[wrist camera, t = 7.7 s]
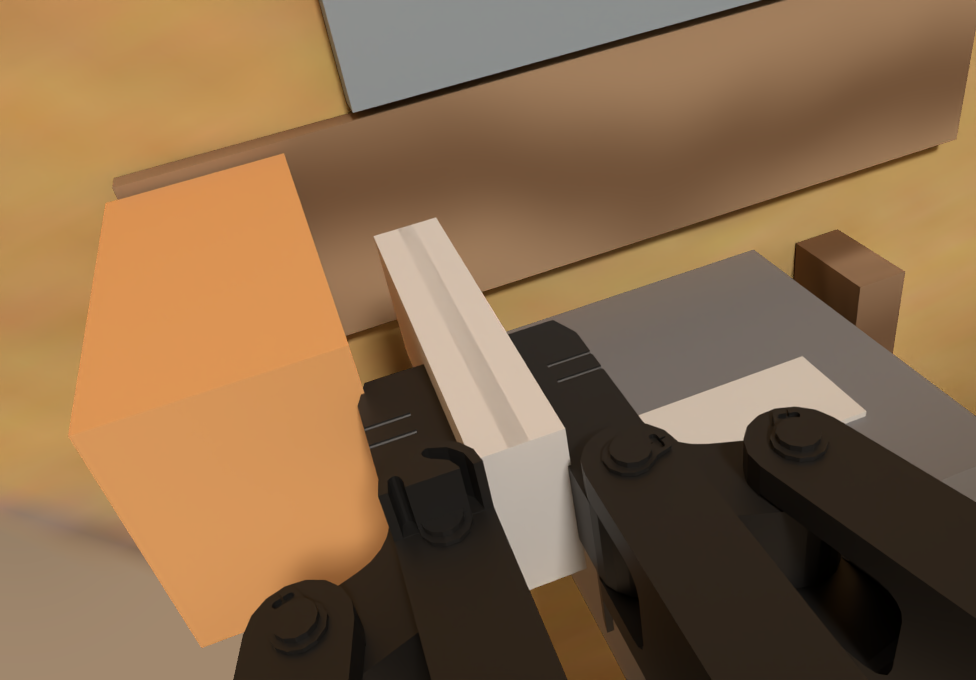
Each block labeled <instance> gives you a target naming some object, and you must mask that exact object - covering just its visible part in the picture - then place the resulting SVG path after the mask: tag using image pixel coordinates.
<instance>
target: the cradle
mask: <svg viewBox="0 0 976 680" xmlns="http://www.w3.org/2000/svg"><path fill="white" fill-rule="evenodd" d="M975 30H976V0H759V1H756V2H752V3H749V4H745V5H741V6H738V7H734V8H730V9H727V10H723V11H720V12H716V13H712V14H709V15H705V16H702V17H698V18H694V19H691V20H687V21H683V22H680V23H676V24H673V25H669V26H665V27H662V28H658V29H655V30H651V31H647V32H644V33H640V34H636V35H633V36H629V37H626V38H622V39H618V40H615V41H611V42H607V43H604V44H600V45H597V46H593V47H589V48H586V49H582V50H579V51H575V52H571V53H568V54H564V55H560V56H557V57H553V58H550V59H546V60H542V61H539V62H535V63H532V64H528V65H524V66H521V67H517V68H513V69H510V70H506V71H503V72H499V73H495V74H492V75H488V76H485V77H481V78H477V79H474V80H470V81H466V82H463V83H459V84H456V85H452V86H448V87H445V88H441V89H438V90H434V91H430V92H427V93H423V94H419V95H416V96H412V97H409V98H405V99H401V100H398V101H394V102H391V103H387V104H383V105H380V106H376V107H372V108H369V109H365V110H362V111H358V112H354V113H353V112H352V113H348V114H345V115H341V116H337V117H334V118H330V119H326V120H323V121H319V122H316V123H312V124H308V125H305V126H301V127H298V128H294V129H290V130H287V131H283V132H279V133H276V134H272V135H269V136H265V137H261V138H258V139H254V140H251V141H247V142H243V143H240V144H236V145H232V146H229V147H225V148H222V149H218V150H214V151H211V152H207V153H203V154H200V155H196V156H193V157H189V158H185V159H182V160H178V161H175V162H171V163H167V164H164V165H160V166H156V167H153V168H149V169H146V170H142V171H138V172H135V173H131V174H127V175H124V176H120V177H117V178H114V180H113V187H112V188H113V191H114V193H115V195H116V197H117V199H118V200H119V199H122V198H126V197H130V196H133V195H137V194H140V193H144V192H147V191H151V190H155V189H158V188H162V187H165V186H169V185H172V184H176V183H179V182H183V181H187V180H190V179H194V178H197V177H201V176H204V175H208V174H212V173H215V172H219V171H222V170H226V169H229V168H233V167H236V166H240V165H244V164H247V163H251V162H254V161H258V160H261V159H265V158H268V157H272V156H276V155H279V154H283V153H284V155H285V158H286V161H287V164H288V167H289V170H290V173H291V176H292V179H293V182H294V185H295V188H296V191H297V193H298V196H299V199H300V202H301V205H302V208H303V211H304V214H305V217H306V220H307V223H308V226H309V229H310V232H311V235H312V238H313V241H314V244H315V247H316V250H317V253H318V256H319V259H320V262H321V265H322V268H323V271H324V274H325V276H326V279H327V282H328V285H329V288H330V291H331V294H332V297H333V300H334V303H335V306H336V309H337V312H338V315H339V318H340V321H341V324H342V327H343V330H344V333H345V336H347V335H350V334H353V333H356V332H359V331H362V330H365V329H368V328H372V327H375V326H378V325H381V324H384V323H387V322H390V321H393V320H396V319H397V317H396V313H395V310H394V306H393V303H392V299H391V296H390V292H389V289H388V285H387V282H386V278H385V275H384V271H383V268H382V264H381V261H380V257H379V254H378V250H377V247H376V243H375V240H374V236H376V235H379V234H382V233H386V232H389V231H393V230H396V229H399V228H402V227H406V226H409V225H412V224H416V223H419V222H423V221H426V220H429V219H433V218H437V220H438V221H439V223H440V225H441V226H442V228H443V230H444V231H445V233H446V235H447V236H448V238H449V239H450V241H451V243H452V244H453V246H454V248H455V249H456V251H457V253H458V254H459V256H460V257H461V259H462V261H463V262H464V264H465V266H466V267H467V269H468V270H469V272H470V274H471V275H472V277H473V279H474V280H475V282H476V284H477V285H478V287H479V288H480V290H481V292H483V291H486V290H489V289H493V288H496V287H499V286H502V285H505V284H508V283H511V282H514V281H517V280H521V279H524V278H527V277H530V276H533V275H536V274H539V273H542V272H545V271H548V270H552V269H555V268H558V267H561V266H564V265H567V264H570V263H573V262H576V261H580V260H583V259H586V258H589V257H592V256H595V255H598V254H601V253H604V252H607V251H611V250H614V249H617V248H620V247H623V246H626V245H629V244H632V243H635V242H638V241H642V240H645V239H648V238H651V237H654V236H657V235H660V234H663V233H666V232H670V231H673V230H676V229H679V228H682V227H685V226H688V225H691V224H694V223H697V222H701V221H704V220H707V219H710V218H713V217H716V216H719V215H722V214H725V213H728V212H732V211H735V210H738V209H741V208H744V207H747V206H750V205H753V204H756V203H760V202H763V201H766V200H769V199H772V198H775V197H778V196H781V195H784V194H787V193H791V192H794V191H797V190H800V189H803V188H806V187H809V186H812V185H815V184H819V183H822V182H825V181H828V180H831V179H834V178H837V177H840V176H843V175H846V174H850V173H853V172H856V171H859V170H862V169H865V168H868V167H871V166H874V165H877V164H881V163H884V162H887V161H890V160H893V159H896V158H899V157H902V156H905V155H909V154H912V153H915V152H918V151H921V150H924V149H927V148H930V147H933V146H936V145H940V144H943V143H946V142H949V141H952V140H955V139H956V138H957V133H958V127H959V121H960V116H961V110H962V104H963V98H964V93H965V87H966V81H967V76H968V70H969V64H970V59H971V53H972V47H973V42H974V36H975ZM904 276H905V271H903V270H902V269H900V268H898V267H897V266H895V265H894V264H892V263H890V262H889V261H887V260H886V259H884V258H882V257H881V256H879V255H878V254H876V253H874V252H873V251H871V250H870V249H868V248H866V247H865V246H863V245H862V244H860V243H858V242H857V241H855V240H854V239H852V238H850V237H849V236H847V235H846V234H844V233H842V232H841V231H839V230H838V229H837V230H834V231H831V232H828V233H825V234H822V235H819V236H816V237H813V238H810V239H807V240H804V241H801V242H798V243H796V256H795V273H794V280H795V281H796V282H797V283H799V284H800V285H801V286H803V287H804V288H805V289H807V290H808V291H809V292H811V293H812V294H813V295H815V296H816V297H817V298H819V299H820V300H821V301H823V302H824V303H825V304H827V305H828V306H829V307H831V308H832V309H833V310H835V311H836V312H837V313H839V314H840V315H841V316H843V317H844V318H845V319H847V320H848V321H849V322H851V323H852V324H853V325H855V326H856V327H857V328H859V329H860V330H861V331H863V332H864V333H865V334H867V335H868V336H869V337H871V338H872V339H873V340H875V341H876V342H877V343H879V344H880V345H881V346H883V347H884V348H885V349H887V350H888V351H889V352H891V353H892V354H893V348H894V341H895V335H896V328H897V322H898V315H899V309H900V302H901V295H902V289H903V282H904Z"/></svg>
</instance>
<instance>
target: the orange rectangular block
mask: <svg viewBox="0 0 976 680" xmlns="http://www.w3.org/2000/svg"><path fill="white" fill-rule="evenodd" d="M361 394H364V390H363V387H362V384H361V381H360V378H359V375H358V372H357V369H356V366H355V363H354V360H353V357H352V354H351V351H350V348H349V345H348V342H347V339H346V336H345V333H344V330H343V327H342V324H341V321H340V318H339V315H338V312H337V309H336V306H335V303H334V300H333V297H332V294H331V291H330V288H329V285H328V282H327V279H326V276H325V274H324V271H323V268H322V265H321V262H320V259H319V256H318V253H317V250H316V247H315V244H314V241H313V238H312V235H311V232H310V229H309V226H308V223H307V220H306V217H305V214H304V211H303V208H302V205H301V202H300V199H299V196H298V193H297V191H296V188H295V185H294V182H293V179H292V176H291V173H290V170H289V167H288V164H287V161H286V158H285V155H284V153H283V154H279V155H276V156H272V157H268V158H265V159H261V160H258V161H254V162H251V163H247V164H244V165H240V166H236V167H233V168H229V169H226V170H222V171H219V172H215V173H212V174H208V175H204V176H201V177H197V178H194V179H190V180H187V181H183V182H179V183H176V184H172V185H169V186H165V187H162V188H158V189H155V190H151V191H147V192H144V193H140V194H137V195H133V196H130V197H126V198H122V199H119V200H115V201H112V202H108V203H106V204H105V210H104V217H103V223H102V229H101V235H100V242H99V248H98V254H97V260H96V266H95V273H94V279H93V285H92V291H91V298H90V304H89V310H88V316H87V322H86V329H85V335H84V341H83V347H82V354H81V360H80V366H79V372H78V378H77V385H76V391H75V397H74V403H73V410H72V416H71V422H70V428H69V434H68V437H69V438H70V440H71V442H72V443H73V445H74V446H75V448H76V449H77V451H78V453H79V454H80V456H81V457H82V459H83V461H84V462H85V464H86V465H87V467H88V469H89V470H90V472H91V473H92V475H93V476H94V478H95V480H96V481H97V483H98V484H99V486H100V488H101V489H102V491H103V492H104V494H105V495H106V497H107V499H108V500H109V502H110V503H111V505H112V507H113V508H114V510H115V511H116V513H117V515H118V516H119V518H120V519H121V521H122V522H123V524H124V526H125V527H126V529H127V530H128V532H129V534H130V535H131V537H132V538H133V540H134V542H135V543H136V545H137V546H138V548H139V549H140V551H141V553H142V554H143V556H144V557H145V559H146V561H147V562H148V564H149V565H150V567H151V569H152V570H153V572H154V573H155V575H156V576H157V578H158V580H159V581H160V583H161V584H162V586H163V587H164V589H165V591H166V592H167V594H168V595H169V597H170V599H171V600H172V602H173V603H174V605H175V607H176V608H177V610H178V611H179V613H180V615H181V616H182V618H183V619H184V621H185V622H186V624H187V626H188V627H189V629H190V630H191V632H192V634H193V635H194V637H195V638H196V640H197V641H198V643H199V645H200V646H201V648H203V647H205V646H208V645H211V644H214V643H216V642H219V641H222V640H224V639H227V638H229V637H232V636H235V635H238V634H240V633H243V632H245V629H246V627H247V625H248V622H249V620H250V617H251V615H252V614H253V613H254V612H255V611H256V610H257V609H258V607H259V606H260V605H261V604H262V603H263V602H264V600H265V599H266V598H268V597H269V596H271V595H273V594H274V593H276V592H277V591H279V590H280V589H282V588H283V587H285V586H288V585H291V584H294V583H297V582H300V581H303V580H327V581H329V582H331V583H334V584H336V585H340V584H341V583H343V582H344V581H346V580H347V579H349V578H350V577H352V576H353V575H354V574H356V573H357V572H359V571H360V570H361V569H362V568H364V567H365V566H366V565H367V564H368V563H370V562H371V561H372V559H373V558H374V557H375V556H376V554H377V553H378V552H379V551H380V550H381V548H382V546H383V544H384V542H385V540H386V538H387V534H388V529H389V526H388V523H387V520H386V518H385V515H384V512H383V509H382V506H381V503H380V501H379V498H378V476H377V473H376V469H375V466H374V462H373V459H372V455H371V452H370V448H369V445H368V441H367V438H366V434H365V430H364V427H363V424H362V420H361V417H360V413H359V410H358V403H359V400H360V396H361Z"/></svg>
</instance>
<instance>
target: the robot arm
mask: <svg viewBox="0 0 976 680" xmlns="http://www.w3.org/2000/svg"><path fill="white" fill-rule="evenodd" d="M374 240H375V243H376V247H377V250H378V254H379V257H380V261H381V264H382V268H383V271H384V275H385V278H386V282H387V285H388V289H389V292H390V296H391V299H392V303H393V306H394V310H395V313H396V317H397V320H398V324H399V327H400V331H401V334H402V338H403V341H404V345H405V348H406V352H407V354H408V357H409V359H410V362H411V364H412V367H413V368H410V369H407V370H403V371H400V372H397V373H394V374H391V375H388V376H385V377H382V378H379V379H376V380H373V381H370V382H367V383H364V387H363V390H364V394H361V396H360V400H359V403H358V410H359V413H360V417H361V420H362V424H363V427H364V430H365V434H366V438H367V441H368V445H369V448H370V452H371V455H372V459H373V462H374V466H375V469H376V473H377V476H378V498H379V501H380V503H381V506H382V509H383V512H384V515H385V518H386V520H387V523H388V526H389V529H388V534H387V538H386V540H385V542H384V544H383V546H382V548H381V550H380V551H379V552H378V553H377V554H376V556H375V557H374V558H373V559H372V561H371V562H370V563H368V564H367V565H366V566H365V567H364V568H362V569H361V570H360V571H359V572H357V573H356V574H354V575H353V576H352V577H350V578H349V579H347V580H346V581H344V582H343V583H341V584H340V585H336V584H334V583H331V582H329V581H327V580H303V581H300V582H297V583H294V584H291V585H288V586H285V587H283V588H282V589H280V590H279V591H277V592H276V593H274V594H273V595H271V596H269V597H268V598H266V599H265V600H264V602H263V603H262V604H261V605H260V606H259V607H258V609H257V610H256V611H255V612H254V613H253V614H252V615H251V617H250V620H249V622H248V625H247V627H246V629H245V632H244V634H243V638H242V642H241V647H240V652H239V656H238V661H237V665H236V670H235V675H234V679H233V680H567V678H566V675H565V673H564V670H563V668H562V666H561V663H560V661H559V659H558V656H557V654H556V652H555V649H554V647H553V645H552V642H551V640H550V638H549V635H548V633H547V630H546V628H545V626H544V623H543V621H542V619H541V616H540V614H539V612H538V609H537V607H536V605H535V602H534V600H533V598H532V595H531V593H530V590H531V589H534V588H536V587H539V586H542V585H544V584H547V583H550V582H552V581H555V580H557V579H560V578H563V577H565V576H568V575H571V574H573V573H576V572H579V571H581V570H584V569H587V566H586V560H585V553H584V548H585V550H586V552H587V554H588V556H589V558H590V560H591V561H592V563H593V565H594V567H595V569H596V571H597V578H598V585H599V592H600V599H601V606H602V613H603V619H604V623H605V626H606V630H607V633H608V632H611V631H613V630H614V623H613V620H614V622H615V624H616V626H617V627H618V629H619V631H620V633H621V635H622V637H623V638H624V640H625V642H626V644H627V646H628V648H629V650H630V651H631V653H632V655H633V657H634V659H635V661H636V662H637V664H638V666H639V668H640V670H641V672H642V674H643V675H644V677H645V679H646V680H976V502H975V501H973V500H972V499H970V498H968V497H967V496H965V495H963V494H962V493H960V492H958V491H957V490H955V489H953V488H952V487H950V486H948V485H947V484H945V483H943V482H942V481H940V480H938V479H936V478H935V477H933V476H931V475H930V474H928V473H926V472H925V471H923V470H921V469H920V468H918V467H916V466H915V465H913V464H911V463H910V462H908V461H906V460H905V459H903V458H901V457H900V456H898V455H896V454H895V453H893V452H891V451H890V450H888V449H886V448H885V447H883V446H881V445H880V444H878V443H876V442H875V441H873V440H871V439H870V438H868V437H866V436H865V435H863V434H861V433H860V432H858V431H856V430H855V429H853V428H851V427H850V426H848V425H846V424H845V423H843V422H841V421H840V420H838V419H836V418H834V417H832V416H830V415H828V414H825V413H823V412H820V411H818V410H816V409H809V408H802V407H795V406H794V407H784V408H775V409H772V410H770V411H767V412H765V413H762V414H760V415H758V416H757V417H756V418H755V419H754V420H753V421H752V422H751V423H750V424H749V425H748V426H747V428H746V432H745V435H744V439H743V441H733V442H722V443H711V444H689V443H683V442H678V441H677V440H676V439H675V438H674V437H672V436H671V435H670V434H669V433H668V432H666V431H665V430H663V429H661V428H658V427H655V426H652V425H649V424H645V423H644V422H643V421H642V420H641V418H640V417H639V415H638V414H637V413H636V411H635V410H634V409H633V407H632V406H631V405H630V403H629V402H628V401H627V399H626V398H625V397H624V395H623V394H622V393H621V391H620V390H619V389H618V387H617V386H616V385H615V383H614V382H613V381H612V379H611V378H610V377H609V375H608V374H607V373H606V371H605V370H604V369H602V368H601V365H600V363H599V362H598V361H597V359H596V358H595V357H594V355H593V354H591V353H590V350H589V348H588V347H587V346H586V344H585V343H584V342H583V340H582V339H581V338H580V336H579V335H578V334H577V332H575V331H573V330H571V329H570V328H568V327H566V326H564V325H562V324H560V323H558V322H556V321H554V320H550V321H547V322H544V323H541V324H538V325H535V326H532V327H529V328H526V329H523V330H520V331H517V332H513V333H510V334H507V333H506V331H505V329H504V328H503V326H502V324H501V323H500V321H499V320H498V318H497V316H496V315H495V313H494V311H493V310H492V308H491V306H490V305H489V303H488V302H487V300H486V298H485V297H484V295H483V293H482V292H481V290H480V288H479V287H478V285H477V284H476V282H475V280H474V279H473V277H472V275H471V274H470V272H469V270H468V269H467V267H466V266H465V264H464V262H463V261H462V259H461V257H460V256H459V254H458V253H457V251H456V249H455V248H454V246H453V244H452V243H451V241H450V239H449V238H448V236H447V235H446V233H445V231H444V230H443V228H442V226H441V225H440V223H439V221H438V220H437V218H433V219H429V220H426V221H423V222H419V223H416V224H412V225H409V226H406V227H402V228H399V229H396V230H393V231H389V232H386V233H382V234H379V235H376V236H374Z"/></svg>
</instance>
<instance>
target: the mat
mask: <svg viewBox="0 0 976 680" xmlns="http://www.w3.org/2000/svg"><path fill="white" fill-rule="evenodd" d="M756 1H759V0H319V3H320V7H321V10H322V14H323V18H324V21H325V25H326V29H327V32H328V36H329V40H330V43H331V47H332V51H333V54H334V58H335V61H336V65H337V69H338V72H339V76H340V80H341V83H342V87H343V91H344V94H345V98H346V102H347V104H348V106H349V107H350V109H351V111H352V112H353V113H354V112H358V111H362V110H365V109H369V108H372V107H376V106H380V105H383V104H387V103H391V102H394V101H398V100H401V99H405V98H409V97H412V96H416V95H419V94H423V93H427V92H430V91H434V90H438V89H441V88H445V87H448V86H452V85H456V84H459V83H463V82H466V81H470V80H474V79H477V78H481V77H485V76H488V75H492V74H495V73H499V72H503V71H506V70H510V69H513V68H517V67H521V66H524V65H528V64H532V63H535V62H539V61H542V60H546V59H550V58H553V57H557V56H560V55H564V54H568V53H571V52H575V51H579V50H582V49H586V48H589V47H593V46H597V45H600V44H604V43H607V42H611V41H615V40H618V39H622V38H626V37H629V36H633V35H636V34H640V33H644V32H647V31H651V30H655V29H658V28H662V27H665V26H669V25H673V24H676V23H680V22H683V21H687V20H691V19H694V18H698V17H702V16H705V15H709V14H712V13H716V12H720V11H723V10H727V9H730V8H734V7H738V6H741V5H745V4H749V3H752V2H756Z"/></svg>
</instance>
